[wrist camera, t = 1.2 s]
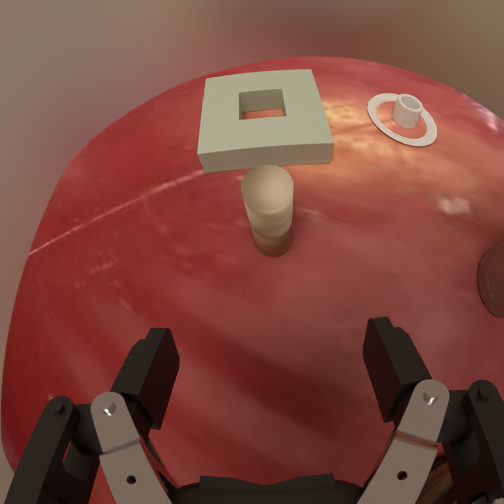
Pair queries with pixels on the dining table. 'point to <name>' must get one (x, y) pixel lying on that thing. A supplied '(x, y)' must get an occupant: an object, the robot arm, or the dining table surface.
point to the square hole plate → (263, 122)
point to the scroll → (438, 486)
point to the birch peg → (269, 208)
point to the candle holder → (404, 117)
